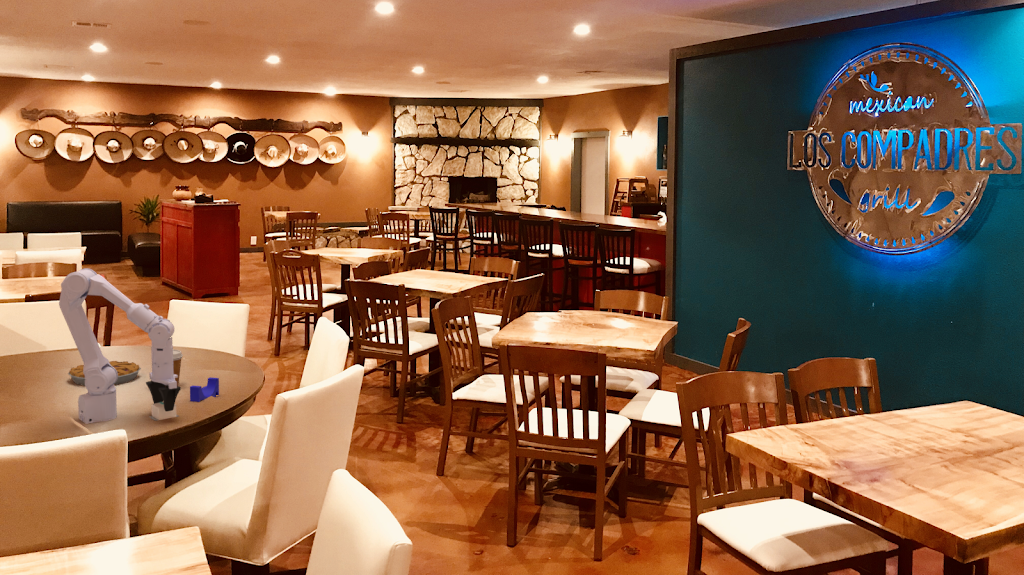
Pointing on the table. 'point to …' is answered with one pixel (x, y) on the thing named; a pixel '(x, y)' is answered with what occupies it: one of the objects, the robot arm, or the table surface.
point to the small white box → (162, 411)
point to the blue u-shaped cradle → (205, 390)
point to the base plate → (157, 419)
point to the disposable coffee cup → (177, 363)
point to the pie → (123, 368)
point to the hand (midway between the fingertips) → (163, 407)
